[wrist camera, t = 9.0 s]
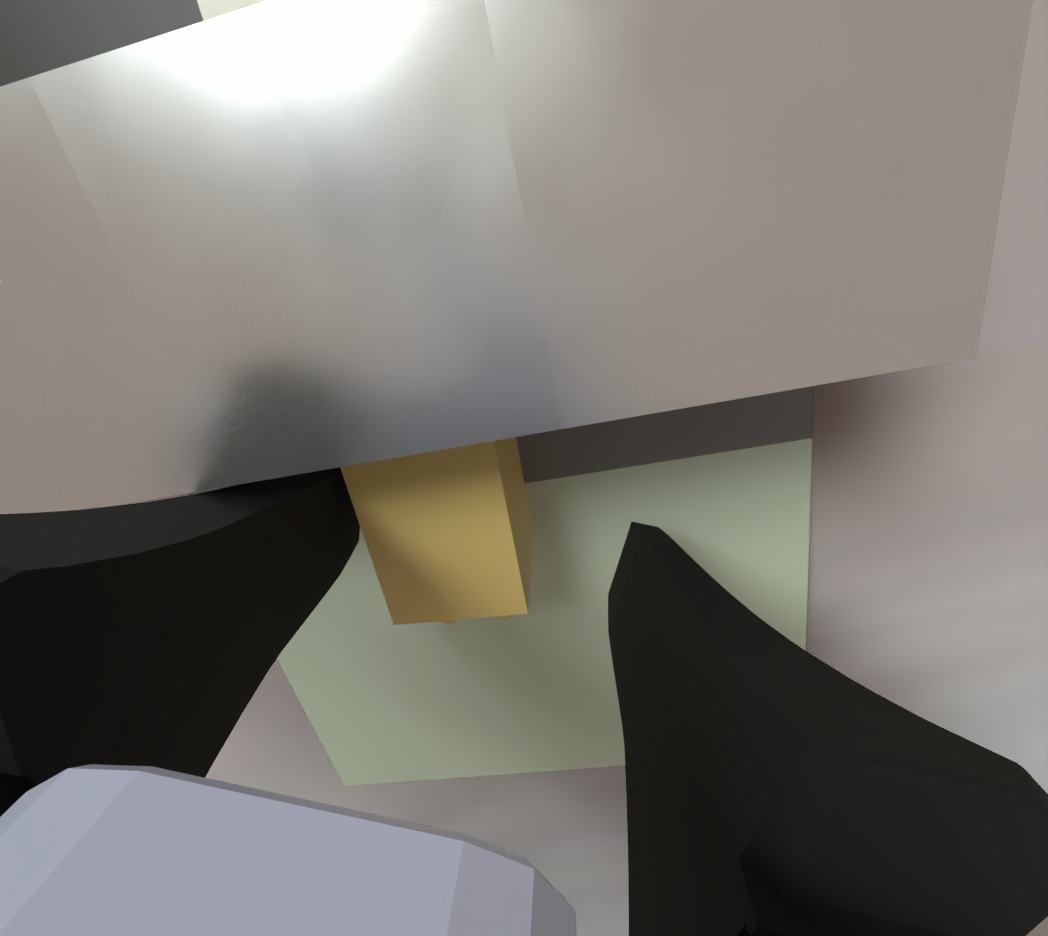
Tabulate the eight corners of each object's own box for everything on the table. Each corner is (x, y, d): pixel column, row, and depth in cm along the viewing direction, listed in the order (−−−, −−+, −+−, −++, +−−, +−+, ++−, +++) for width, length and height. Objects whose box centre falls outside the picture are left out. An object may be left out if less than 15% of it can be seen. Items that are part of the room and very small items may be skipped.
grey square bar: (66, 216, 11) (-313, 187, 6) (794, 18, 8) (1074, -259, 4) (175, 431, 12) (-46, 533, 8) (791, 312, 10) (974, 358, 6)
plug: (199, -258, 8) (-5, -549, 5) (380, -320, 7) (272, -674, 4) (435, 578, 14) (405, 659, 11) (539, 568, 13) (534, 649, 11)
